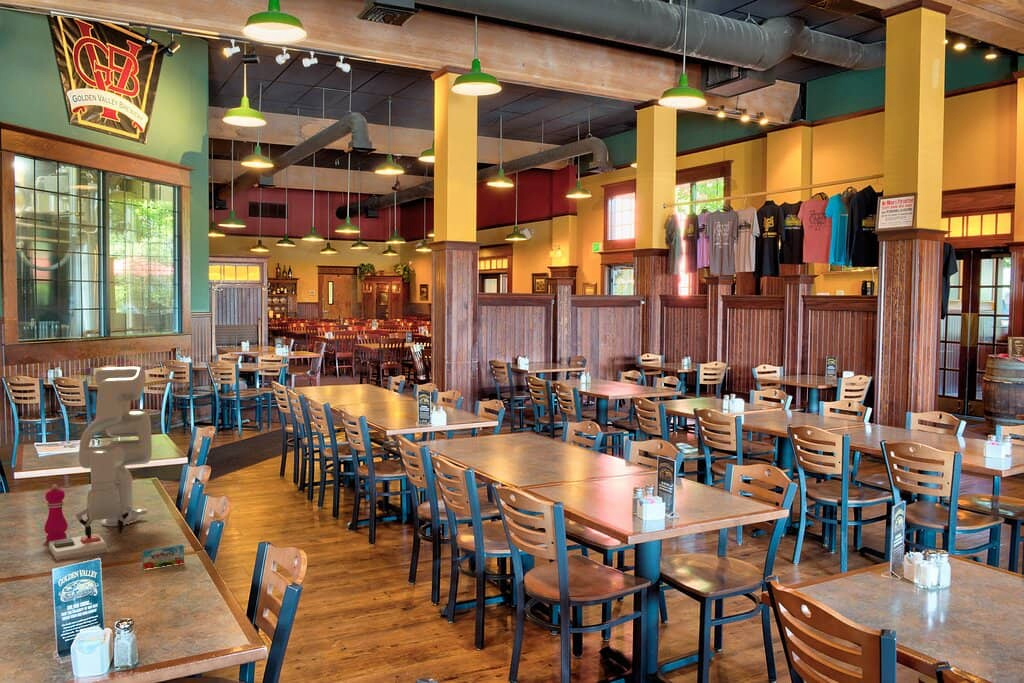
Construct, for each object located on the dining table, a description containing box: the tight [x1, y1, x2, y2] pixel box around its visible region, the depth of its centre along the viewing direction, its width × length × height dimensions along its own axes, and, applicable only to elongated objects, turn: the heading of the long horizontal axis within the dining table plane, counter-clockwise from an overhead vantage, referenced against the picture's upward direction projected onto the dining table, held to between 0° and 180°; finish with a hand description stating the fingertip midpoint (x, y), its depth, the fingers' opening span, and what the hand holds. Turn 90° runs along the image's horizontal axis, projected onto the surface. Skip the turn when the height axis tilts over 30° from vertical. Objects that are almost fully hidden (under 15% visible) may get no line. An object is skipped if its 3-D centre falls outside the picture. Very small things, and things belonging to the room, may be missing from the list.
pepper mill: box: [44, 483, 69, 543], centre depth 287 cm, size 7×7×20 cm
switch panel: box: [48, 533, 108, 561], centre depth 274 cm, size 15×15×3 cm
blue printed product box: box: [141, 544, 185, 570], centre depth 256 cm, size 12×2×6 cm, turn 120°
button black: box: [54, 537, 74, 548], centre depth 271 cm, size 5×5×2 cm
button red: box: [81, 533, 101, 544], centre depth 276 cm, size 5×5×2 cm
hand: (104, 534), depth 279 cm, fingers open, 9 cm apart
